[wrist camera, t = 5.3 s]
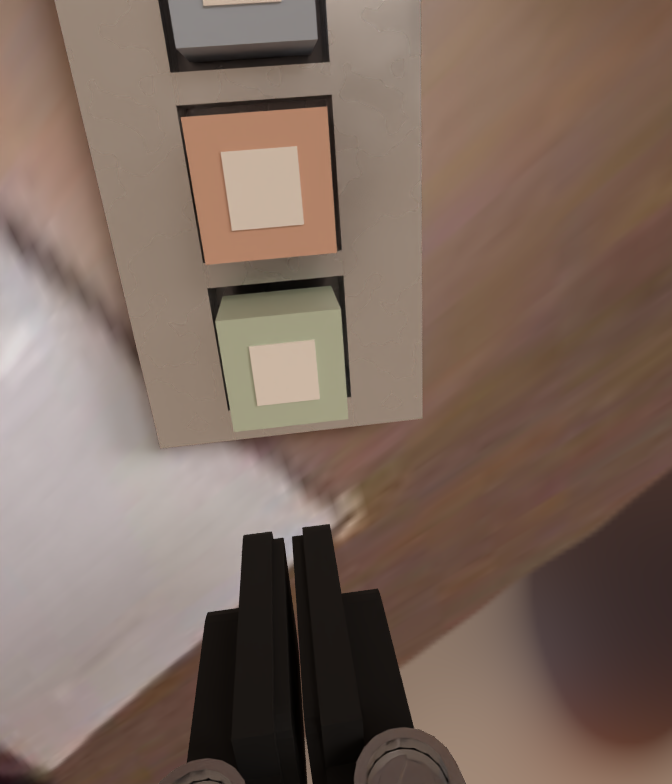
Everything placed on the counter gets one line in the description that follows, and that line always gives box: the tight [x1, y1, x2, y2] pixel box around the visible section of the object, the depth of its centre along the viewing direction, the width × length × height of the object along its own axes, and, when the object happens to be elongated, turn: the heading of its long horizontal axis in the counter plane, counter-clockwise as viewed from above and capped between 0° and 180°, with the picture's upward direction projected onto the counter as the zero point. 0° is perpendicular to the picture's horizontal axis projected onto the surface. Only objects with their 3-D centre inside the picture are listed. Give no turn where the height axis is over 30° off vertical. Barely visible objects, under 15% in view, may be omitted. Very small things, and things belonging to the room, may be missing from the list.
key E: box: [215, 286, 348, 432], centre depth 22 cm, size 4×4×4 cm
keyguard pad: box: [54, 0, 422, 449], centre depth 21 cm, size 12×28×3 cm, turn 4°
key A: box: [181, 107, 337, 265], centre depth 19 cm, size 4×4×4 cm
